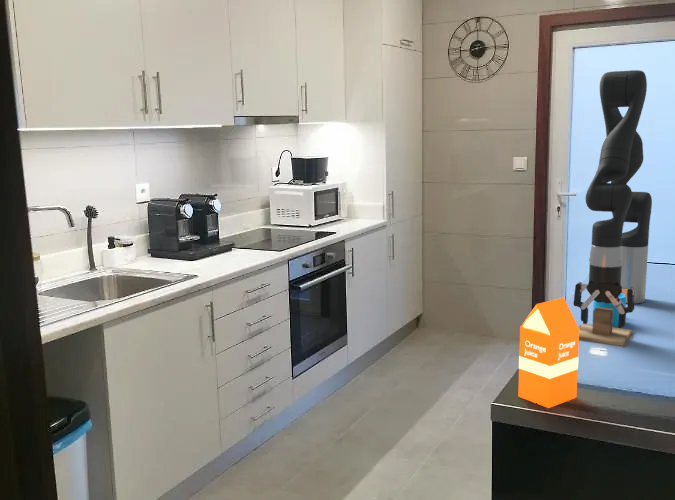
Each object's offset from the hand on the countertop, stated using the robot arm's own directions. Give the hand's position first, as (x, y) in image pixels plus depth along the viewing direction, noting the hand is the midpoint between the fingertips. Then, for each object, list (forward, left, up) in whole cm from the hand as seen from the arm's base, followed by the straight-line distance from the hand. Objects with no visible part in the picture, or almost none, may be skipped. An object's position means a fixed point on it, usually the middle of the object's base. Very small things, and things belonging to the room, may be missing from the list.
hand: (602, 325), depth 178 cm
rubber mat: (0, 0, -3) cm, 3 cm away
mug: (-15, -1, -3) cm, 15 cm away
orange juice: (+46, -1, -3) cm, 46 cm away
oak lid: (0, 0, -3) cm, 3 cm away
